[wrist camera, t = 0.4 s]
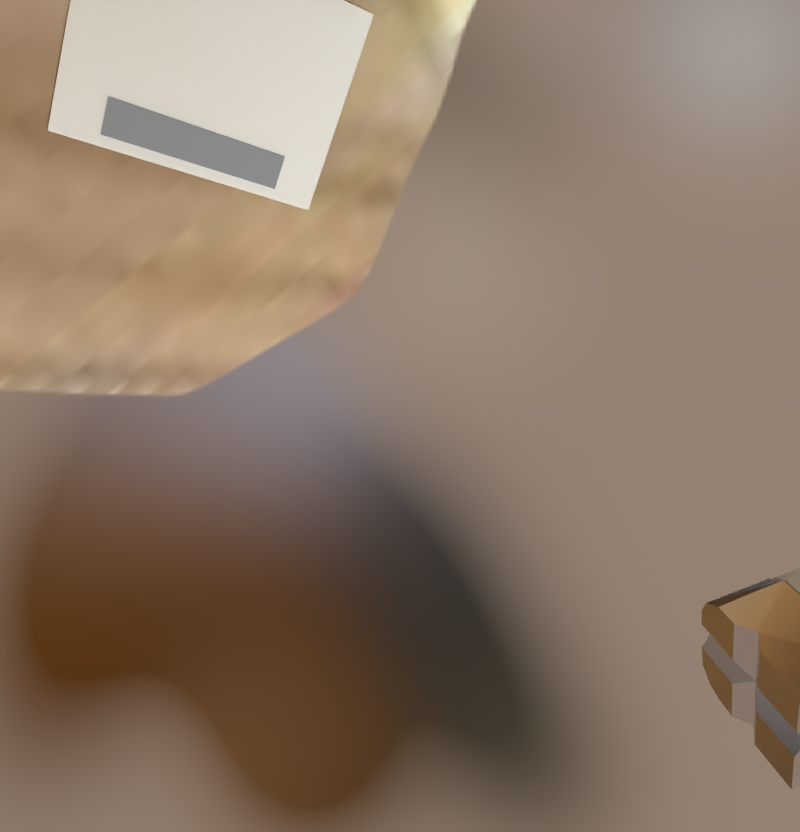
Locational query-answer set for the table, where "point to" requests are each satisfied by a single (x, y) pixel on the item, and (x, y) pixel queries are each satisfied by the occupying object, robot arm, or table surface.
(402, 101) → the table surface
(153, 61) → the paper
